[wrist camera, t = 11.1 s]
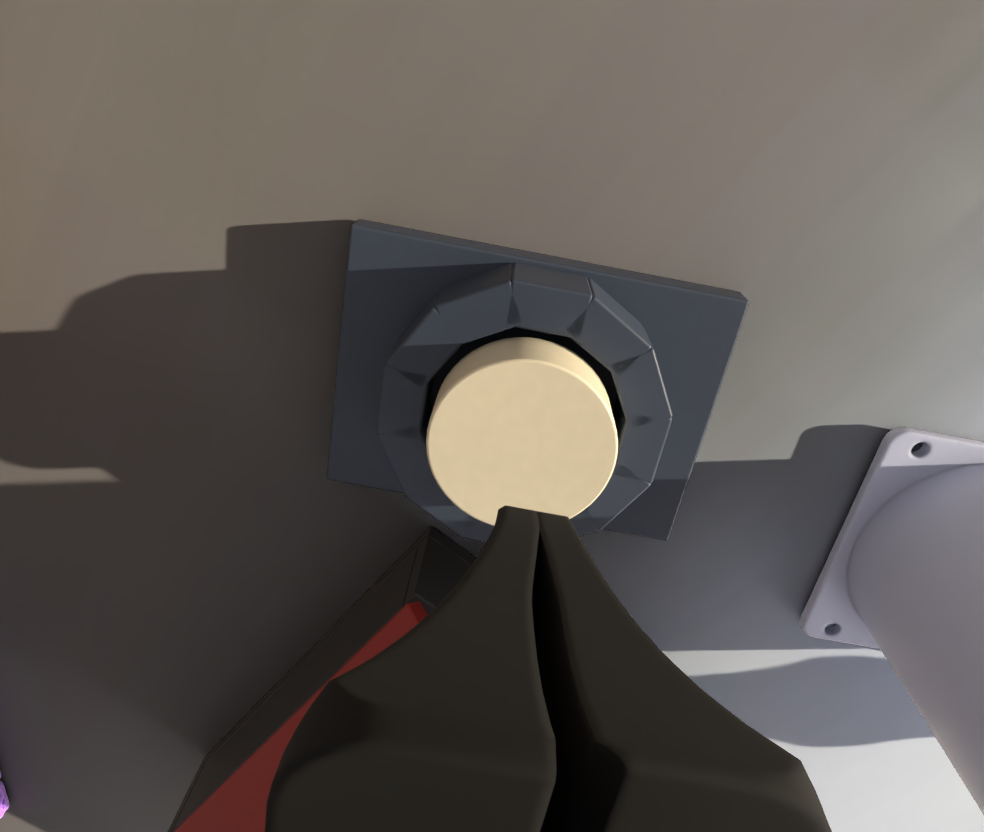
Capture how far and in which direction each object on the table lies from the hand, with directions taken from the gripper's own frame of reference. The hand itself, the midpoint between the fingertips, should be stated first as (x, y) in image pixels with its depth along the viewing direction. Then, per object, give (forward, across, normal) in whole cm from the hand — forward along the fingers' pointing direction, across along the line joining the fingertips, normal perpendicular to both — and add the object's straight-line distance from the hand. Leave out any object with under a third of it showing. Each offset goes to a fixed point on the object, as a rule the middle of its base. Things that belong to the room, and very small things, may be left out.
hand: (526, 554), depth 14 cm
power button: (+6, 0, 0) cm, 6 cm away
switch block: (+9, 0, 0) cm, 9 cm away
